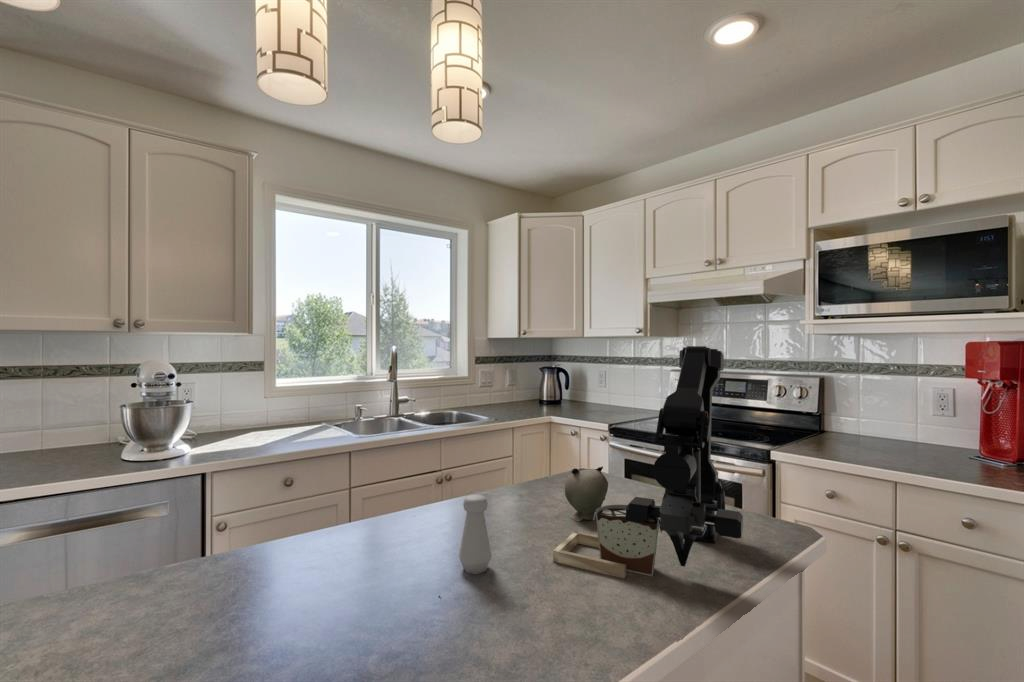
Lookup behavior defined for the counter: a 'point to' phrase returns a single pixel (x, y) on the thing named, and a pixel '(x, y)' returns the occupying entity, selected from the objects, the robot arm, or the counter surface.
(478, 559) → the salt shaker
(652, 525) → the food container
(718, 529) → the robot arm
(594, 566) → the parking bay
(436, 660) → the counter surface
